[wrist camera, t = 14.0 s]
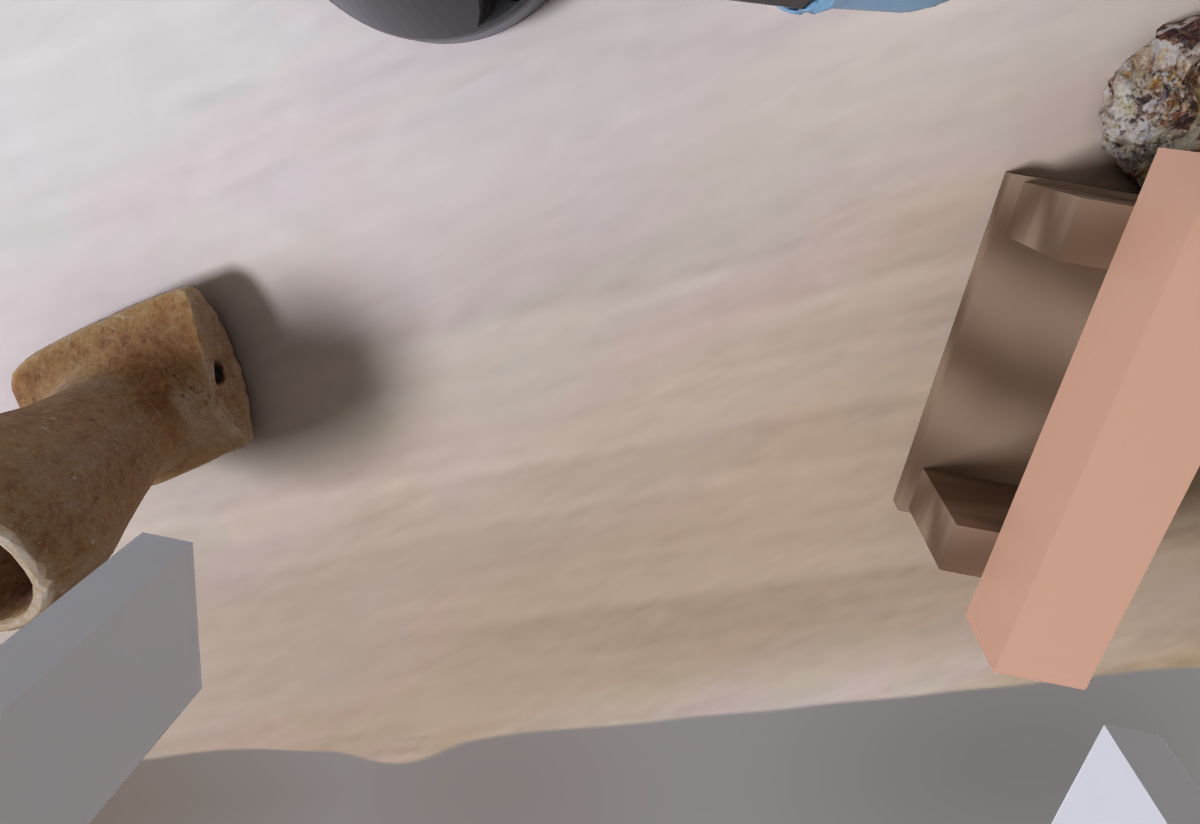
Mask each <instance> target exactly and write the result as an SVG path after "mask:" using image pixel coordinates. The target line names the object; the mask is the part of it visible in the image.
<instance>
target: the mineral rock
mask: <svg viewBox="0 0 1200 824" xmlns="http://www.w3.org/2000/svg"><path fill="white" fill-rule="evenodd" d="M1102 93H1103V94H1104V101H1103V107H1102V109H1100V112H1099V115H1100V117H1101V118H1102V121H1103V125H1104V126H1103V137H1102V140H1103V142H1102V149H1103V150H1104V152H1105V153H1106V154H1109V155H1111V156H1113V157H1115V158H1116V159H1117V162H1116V163H1117V165H1119V166H1120V167H1121V168H1122V169H1123V171H1124V172H1125V173H1127V174H1128V175H1130V176H1131V177H1132V178H1133V179H1136V180H1137V182H1138V184H1139V186H1140V187H1142V186H1143V184H1144V181H1145V179H1146V177H1147V174H1148V172H1149V169H1150V167H1151V164H1152V162H1153V160H1154V157H1155V155H1156V152H1157V150H1158V148H1159V147H1160V148H1168V149H1176V150H1184V151H1192V152H1200V16H1199V15H1195V16H1193V17H1190V18H1187V19H1184V20H1182V21H1179V22H1174V23H1169V24H1163V25H1162V26H1161V27H1160V28H1159V29H1157V33H1156V39H1155V40H1154V41H1152V42H1151V43H1150V44H1148V45H1147V46H1145V47H1143V48H1141V49H1140V50H1139V51H1138V52H1137V53H1136V54H1135V55H1132V56H1131V57H1130V58H1129V59H1128V60H1126V61H1125V63H1124V64H1123V65H1122V67H1121V68H1120V69H1118V70H1117V71H1116V72H1115V74H1114V77H1113V78H1111V79H1110V80H1109V81H1108V86H1107V87H1106V88H1105V89H1104V90H1103V91H1102Z"/></svg>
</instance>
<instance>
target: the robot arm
mask: <svg viewBox="0 0 1200 824" xmlns="http://www.w3.org/2000/svg"><path fill="white" fill-rule="evenodd" d="M329 1H330V2H332V3H333V4H334V5H336V6H337V7H338V8H340V9H341V10H342V11H344V12H345V13H347V14H348V15H350V16H351V17H353V18H355V19H356V20H358V21H360V22H362V23H363V24H365V25H367V26H370V27H372V28H374V29H376V30H379V31H381V32H384V33H386V34H390V35H393V36H397V37H400V38H405V39H410V40H415V41H421V42H428V43H438V44H452V43H463V42H470V41H474V40H479V39H482V38H485V37H489V36H491V35H494V34H496V33H499V32H501V31H503V30H505V29H507V28H509V27H511V26H513V25H514V24H516V23H518V22H519V21H521V20H522V19H524V18H525V17H527V16H528V15H529V14H531V13H532V12H533V11H534V10H535V9H537V8H538V7H539V6H540V5H541V4H542V3H543V2H544V1H545V0H329ZM732 1H740V2H748V3H757V4H765V5H774V6H776V7H778V8H779V9H781V10H782V11H785V12H788V13H791V14H797V15H802V14H803V13H805V12H806V13H810V14H816V13H820V12H823V11H826V10H829V9H848V10H865V11H881V12H898V13H903V12H912V11H917V10H921V9H925V8H930V7H934V6H937V5H939V4H941V3H943V2H946V1H949V0H732ZM201 688H202V684H201V668H200V652H199V637H198V621H197V605H196V589H195V573H194V557H193V542H188V541H183V540H178V539H173V538H168V537H163V536H158V535H153V534H148V533H143V532H142V533H141V534H140V535H139V536H137V537H136V538H135V539H134V540H132V541H131V542H130V543H129V544H127V545H126V546H125V547H124V548H122V549H121V550H120V551H119V552H117V553H116V554H115V555H113V556H112V557H111V558H110V559H108V560H107V561H106V562H105V563H103V564H102V565H101V566H100V567H98V568H97V569H96V570H95V571H93V572H92V573H91V574H90V575H88V576H87V577H86V578H84V579H83V580H82V581H81V582H79V583H78V584H77V585H76V586H74V587H73V588H72V589H71V590H69V591H68V592H67V593H66V594H64V595H63V596H62V597H61V598H59V599H58V600H57V601H55V602H54V603H53V604H52V605H50V606H49V607H48V608H47V609H45V610H44V611H43V612H42V613H40V614H39V615H38V616H37V617H35V618H34V619H33V620H32V621H30V622H29V623H28V624H27V625H25V626H24V627H23V628H21V629H20V630H19V631H18V632H16V633H15V634H14V635H13V636H11V637H10V638H9V639H8V640H6V641H5V642H4V643H3V644H1V645H0V824H89V823H90V821H91V820H92V819H93V818H94V817H95V816H96V814H97V813H98V812H99V811H100V810H101V808H102V807H103V806H104V805H105V804H106V802H107V801H108V800H109V799H110V797H111V796H112V795H113V794H114V793H115V792H116V790H117V789H118V788H119V787H120V786H121V784H122V783H123V782H124V781H125V780H126V778H127V777H128V776H129V775H130V774H131V772H132V771H133V770H134V769H135V768H136V766H137V765H138V764H139V763H140V762H141V760H142V759H143V758H144V757H145V756H146V754H147V753H148V752H149V751H150V750H151V748H152V747H153V746H154V745H155V744H156V742H157V741H158V740H159V739H160V738H161V736H162V735H163V734H164V733H165V732H166V730H167V729H168V728H169V727H170V726H171V724H172V723H173V722H174V721H175V720H176V718H177V717H178V716H179V715H180V714H181V712H182V711H183V710H184V709H185V708H186V706H187V705H188V704H189V703H190V702H191V700H192V699H193V698H194V697H195V696H196V694H197V693H198V692H199V691H200V690H201ZM1051 824H1200V790H1199V789H1198V788H1197V786H1196V785H1195V783H1194V782H1193V781H1192V779H1191V778H1190V776H1189V775H1188V774H1187V772H1186V771H1185V770H1184V768H1183V767H1182V766H1181V764H1180V762H1179V761H1178V760H1177V758H1176V757H1175V756H1174V754H1173V753H1172V751H1171V750H1170V749H1169V747H1168V746H1167V744H1166V743H1165V742H1164V740H1163V739H1162V737H1161V736H1157V735H1152V734H1147V733H1142V732H1137V731H1132V730H1127V729H1122V728H1117V727H1112V726H1107V725H1104V726H1103V728H1102V730H1101V732H1100V733H1099V735H1098V737H1097V739H1096V741H1095V743H1094V745H1093V747H1092V748H1091V750H1090V753H1089V754H1088V756H1087V758H1086V760H1085V762H1084V764H1083V765H1082V767H1081V769H1080V771H1079V773H1078V775H1077V777H1076V778H1075V780H1074V782H1073V784H1072V786H1071V788H1070V790H1069V792H1068V793H1067V795H1066V797H1065V799H1064V801H1063V803H1062V805H1061V807H1060V808H1059V810H1058V812H1057V814H1056V816H1055V818H1054V820H1053V822H1052V823H1051Z"/></svg>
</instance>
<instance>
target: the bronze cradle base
mask: <svg viewBox="0 0 1200 824" xmlns="http://www.w3.org/2000/svg"><path fill="white" fill-rule="evenodd" d="M1138 196H1139V194H1135V193H1129V192H1123V191H1117V190H1111V189H1105V188H1099V187H1093V186H1087V185H1081V184H1075V183H1069V182H1063V181H1057V180H1051V179H1045V178H1039V177H1033V176H1027V175H1021V174H1015V173H1009V172H1006V173H1005V176H1004V179H1003V181H1002V184H1001V187H1000V190H999V193H998V196H997V199H996V202H995V205H994V208H993V211H992V214H991V216H990V219H989V222H988V225H987V228H986V231H985V234H984V237H983V240H982V243H981V246H980V248H979V251H978V254H977V257H976V260H975V263H974V266H973V269H972V272H971V275H970V278H969V281H968V283H967V286H966V289H965V292H964V295H963V298H962V301H961V304H960V307H959V310H958V313H957V315H956V318H955V321H954V324H953V327H952V330H951V333H950V336H949V339H948V342H947V345H946V348H945V350H944V353H943V356H942V359H941V362H940V365H939V368H938V371H937V374H936V377H935V380H934V383H933V385H932V388H931V391H930V394H929V397H928V400H927V403H926V406H925V409H924V412H923V415H922V417H921V420H920V423H919V426H918V429H917V432H916V435H915V438H914V441H913V444H912V447H911V450H910V452H909V455H908V458H907V461H906V464H905V467H904V470H903V473H902V476H901V479H900V482H899V485H898V487H897V490H896V493H895V496H894V499H893V500H894V502H895V505H896V507H897V509H898V510H899V511H905V512H910V513H911V514H912V516H913V518H914V520H915V522H916V524H917V526H918V528H919V530H920V532H921V534H922V536H923V537H924V539H925V541H926V543H927V545H928V547H929V549H930V551H931V553H932V555H933V557H934V559H935V561H936V563H937V565H938V567H939V569H940V570H945V571H950V572H955V573H960V574H965V575H971V576H976V577H982V574H983V572H984V569H985V567H986V565H987V562H988V560H989V557H990V555H991V552H992V550H993V548H994V545H995V543H996V540H997V538H998V535H999V533H1000V531H1001V528H1002V526H1003V523H1004V521H1005V518H1006V516H1007V514H1008V511H1009V509H1010V506H1011V504H1012V501H1013V499H1014V497H1015V494H1016V492H1017V489H1018V487H1019V485H1020V482H1021V480H1022V477H1023V475H1024V472H1025V470H1026V468H1027V465H1028V463H1029V460H1030V458H1031V455H1032V453H1033V451H1034V448H1035V446H1036V443H1037V441H1038V438H1039V436H1040V434H1041V431H1042V429H1043V426H1044V424H1045V421H1046V419H1047V417H1048V414H1049V412H1050V409H1051V407H1052V405H1053V402H1054V400H1055V397H1056V395H1057V392H1058V390H1059V388H1060V385H1061V383H1062V380H1063V378H1064V375H1065V373H1066V371H1067V368H1068V366H1069V363H1070V361H1071V358H1072V356H1073V354H1074V351H1075V349H1076V346H1077V344H1078V341H1079V339H1080V337H1081V334H1082V332H1083V329H1084V327H1085V325H1086V322H1087V320H1088V317H1089V315H1090V312H1091V310H1092V308H1093V305H1094V303H1095V300H1096V298H1097V295H1098V293H1099V291H1100V288H1101V286H1102V283H1103V281H1104V278H1105V276H1106V274H1107V271H1108V269H1109V266H1110V264H1111V261H1112V259H1113V257H1114V254H1115V252H1116V249H1117V247H1118V245H1119V242H1120V240H1121V237H1122V235H1123V232H1124V230H1125V228H1126V225H1127V223H1128V220H1129V218H1130V215H1131V213H1132V211H1133V208H1134V206H1135V203H1136V201H1137V198H1138Z"/></svg>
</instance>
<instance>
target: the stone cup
mask: <svg viewBox="0 0 1200 824" xmlns="http://www.w3.org/2000/svg"><path fill="white" fill-rule="evenodd" d="M11 385H12V391H13V393H14V396H15V398H16V400H17V402H18V405H19V407H20V408H19V409H16V410H12V411H8V412H4V413H0V631H12V630H16V629H20V628H23V627H24V626H25V625H27V624H28V623H29V622H30V621H32V620H33V619H34V618H35V617H37V616H38V615H39V614H40V613H42V612H43V611H44V610H45V609H47V608H48V607H49V606H50V605H52V604H53V603H54V602H55V601H57V600H58V599H59V598H61V597H62V596H63V595H64V594H66V593H67V592H68V591H69V590H71V589H72V588H73V587H74V586H76V585H77V584H78V583H79V582H81V581H82V580H83V579H84V578H86V577H87V576H88V575H90V574H91V573H92V572H93V571H95V570H96V569H97V568H98V567H100V566H101V565H102V564H103V563H105V562H106V561H107V560H108V559H109V557H110V556H111V555H112V553H113V552H114V550H115V548H116V546H117V544H118V543H119V541H120V539H121V537H122V535H123V533H124V531H125V529H126V527H127V525H128V523H129V522H130V520H131V518H132V516H133V515H134V513H135V511H136V509H137V508H138V506H139V504H140V503H141V501H142V499H143V497H144V496H145V494H146V493H147V491H148V490H149V488H150V487H151V486H152V485H156V484H159V483H162V482H164V481H167V480H169V479H172V478H174V477H176V476H178V475H181V474H183V473H185V472H188V471H190V470H192V469H194V468H197V467H199V466H201V465H203V464H205V463H208V462H210V461H211V460H213V459H215V458H217V457H219V456H221V455H223V454H225V453H228V452H231V451H234V450H237V449H239V448H242V447H244V446H245V445H247V444H248V443H249V442H251V441H252V439H253V436H254V433H253V426H252V424H251V418H250V407H249V398H248V396H247V394H246V387H245V382H244V379H243V377H242V370H241V367H240V364H239V362H238V361H237V359H236V357H235V355H234V351H233V347H232V345H231V342H230V340H229V337H228V334H227V332H226V330H225V329H224V327H223V326H222V324H221V323H220V321H219V319H218V315H217V313H216V312H215V311H214V309H213V308H212V307H211V306H210V304H209V303H208V301H207V300H206V299H205V297H204V296H203V294H202V293H201V292H200V291H199V290H198V289H196V288H195V287H193V286H181V287H179V288H176V289H173V290H171V291H168V292H165V293H162V294H160V295H157V296H155V297H152V298H150V299H147V300H144V301H142V302H139V303H137V304H134V305H132V306H130V307H128V308H125V309H123V310H121V311H119V312H117V313H114V314H113V315H111V316H110V317H108V318H105V319H102V320H99V321H97V322H95V323H93V324H90V325H88V326H86V327H84V328H82V329H80V330H77V331H75V332H73V333H71V334H69V335H67V336H65V337H63V338H61V339H59V340H57V341H55V342H54V343H52V344H50V345H48V346H46V347H44V348H43V349H41V350H39V351H37V352H35V353H34V354H33V355H31V356H30V357H28V358H27V359H26V360H25V361H24V362H23V363H21V364H20V365H19V366H18V368H17V369H16V370H15V371H14V373H13V374H12V382H11Z"/></svg>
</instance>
